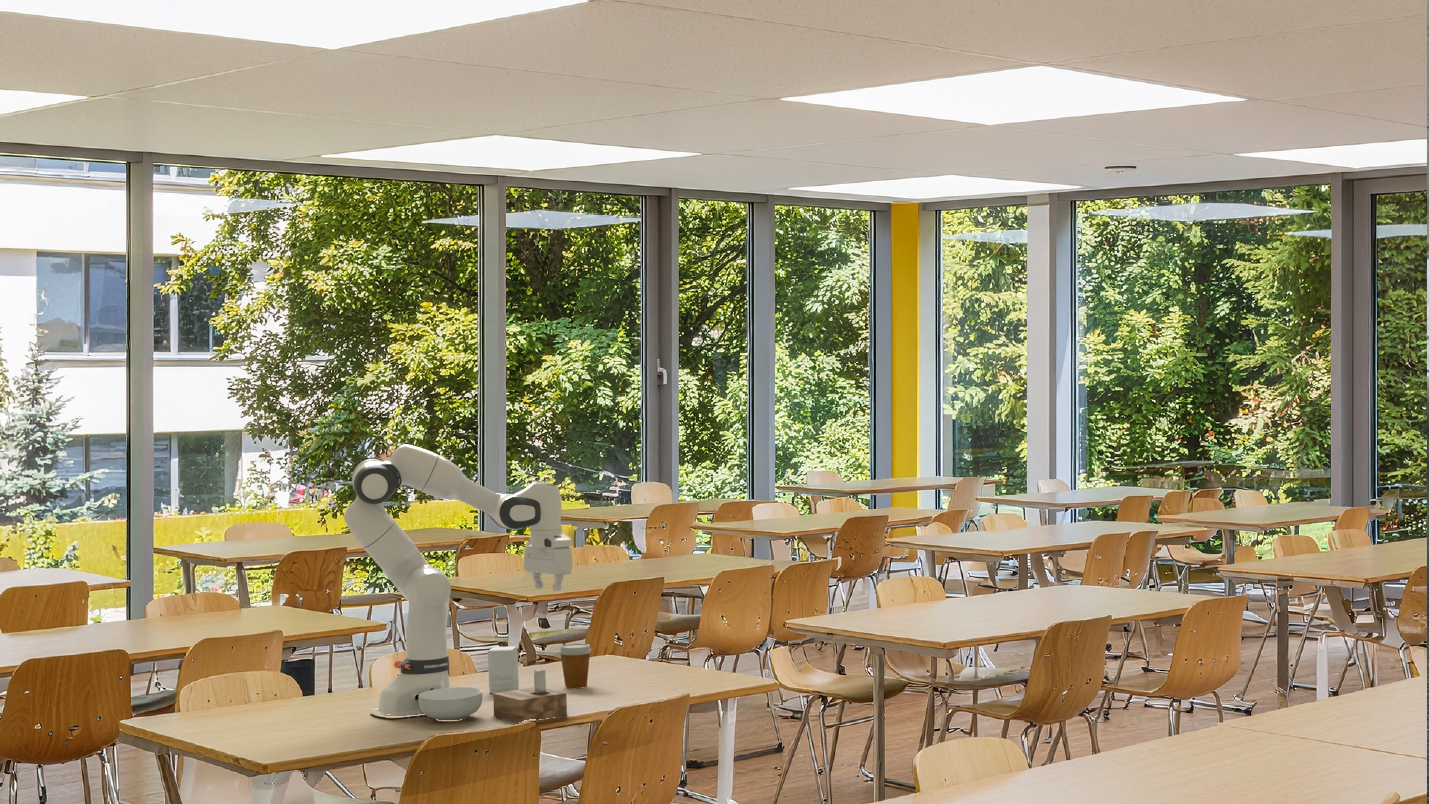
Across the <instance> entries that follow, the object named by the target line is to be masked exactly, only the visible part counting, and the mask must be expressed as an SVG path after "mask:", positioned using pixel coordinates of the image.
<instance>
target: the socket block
mask: <svg viewBox="0 0 1429 804" xmlns="http://www.w3.org/2000/svg"><path fill="white" fill-rule="evenodd" d="M492 696H493V700H492V701H493V717H495V716H497V717H496V718H499V719H503V720H506V721H510V722H515V723H517V722H522V721H524V720H529V719H536V720H539V719H545V720H547V719H546V718H551V719H554V718H553V717H557V718H561V717H560V716H563V717H567V716H568V703H567V701H568V700H567V698H568V697H567V692H563V691H560V690H555V689H551V688H547V687H546V694H543V695H535V690H534V687H528V688H521V689H518V690H513V691H507V692H500V693H493V695H492ZM539 721H540V720H539Z"/></svg>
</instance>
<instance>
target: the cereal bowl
mask: <svg viewBox="0 0 1429 804" xmlns="http://www.w3.org/2000/svg"><path fill="white" fill-rule="evenodd" d="M418 699H419V706H420V709H421V711H422V712H423V713H424V714H425V715H426V717H429V718H432V719H435V720H436V719H438V720H460V719H464V720H466V719H467V718H468V717H469V716H471V715H473V714H474V713H476V712H478V710H479V709H480V708H481V706H482V703H483V690H482V689H480V688H478V687H469V686H454V687H452V686H451V687H450V688H441V689H434V690H429V691H425V692H422V693H420V694H419V696H418Z"/></svg>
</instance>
